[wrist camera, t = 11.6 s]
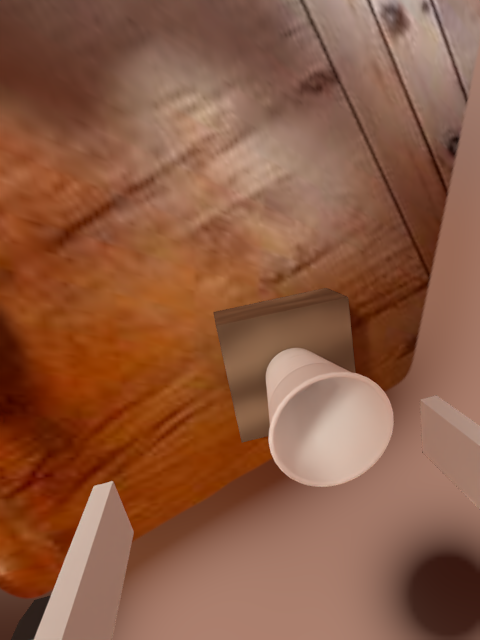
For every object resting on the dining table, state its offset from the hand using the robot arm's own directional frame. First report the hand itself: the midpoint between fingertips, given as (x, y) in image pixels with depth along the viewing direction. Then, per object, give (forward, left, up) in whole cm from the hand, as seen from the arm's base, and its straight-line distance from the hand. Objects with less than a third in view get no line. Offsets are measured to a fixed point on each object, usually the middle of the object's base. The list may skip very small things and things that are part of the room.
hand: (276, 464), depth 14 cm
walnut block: (+6, +6, -26) cm, 28 cm away
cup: (+6, +6, -21) cm, 22 cm away
